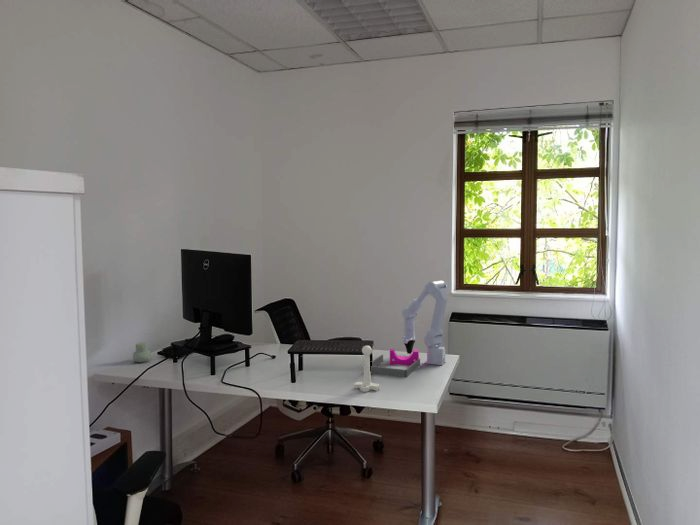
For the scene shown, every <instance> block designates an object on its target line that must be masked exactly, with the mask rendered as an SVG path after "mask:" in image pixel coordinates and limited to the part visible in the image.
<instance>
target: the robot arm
mask: <svg viewBox="0 0 700 525" xmlns="http://www.w3.org/2000/svg"><path fill="white" fill-rule="evenodd" d="M447 292H448V285H447V284H446V282H445V281H444V280H442V279H441V280H435V281H428V282H427V283H426V285H424V289H423V290H422V292H421V293H420V294H419V296H418V297H417V298H414V299H412V300H411V303H409V305H408V306H407V307H405V308H403V310H402V312H401V316H402V317H403V320H404V322H403V330H404V332H403V333H404V334H403V336H402V338H401V339H403V345H404V346H405V349H406V353H407V354H408V355H411V354H412V353H413V350H414V349H413V348H414V345H415V343H416V334H415V332H416V331H415V324H416V323H415V321H416V317H418V316H417V315H418V312H419V311H420V310H421V309H422V307H423V305H424V304H423V302H424V301H425V300H427V298H429V296H431V297H432V298H433V299H434V300H435V303H434V304H435V305H434V310H433V314H432V320H431V324H430V328H429V329H428V331H427V332H426V334H425V336H424V338H423V342H424V345H425V346H426V361H425V362H424V364H428V365H438V366H443V365H444V364H445V363H446V362H447V361H446V348H445V346H442V344H443V343H444V338H445V337H444V331H443V330H442V327H443V321H444V317H445V313H446V308H447V302H448V294H447Z"/></svg>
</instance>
